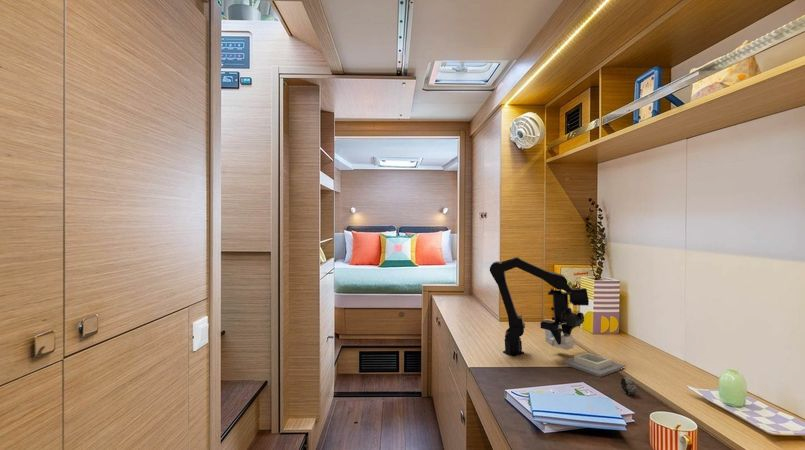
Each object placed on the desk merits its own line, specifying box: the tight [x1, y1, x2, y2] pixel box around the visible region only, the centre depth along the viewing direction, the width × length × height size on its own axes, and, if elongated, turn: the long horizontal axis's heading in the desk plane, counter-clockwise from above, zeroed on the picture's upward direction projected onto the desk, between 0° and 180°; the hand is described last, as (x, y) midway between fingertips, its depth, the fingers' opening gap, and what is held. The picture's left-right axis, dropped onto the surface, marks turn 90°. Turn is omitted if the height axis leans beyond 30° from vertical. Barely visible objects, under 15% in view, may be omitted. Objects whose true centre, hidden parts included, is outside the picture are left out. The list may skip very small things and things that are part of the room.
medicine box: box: [544, 329, 554, 346], centre depth 173 cm, size 8×4×9 cm, turn 179°
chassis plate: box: [561, 352, 626, 378], centre depth 143 cm, size 14×16×3 cm
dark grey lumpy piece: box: [620, 376, 638, 396], centre depth 120 cm, size 3×5×5 cm
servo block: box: [550, 332, 578, 351], centre depth 156 cm, size 4×10×6 cm, turn 27°
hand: (563, 343), depth 156 cm, fingers closed on servo block, 4 cm apart
